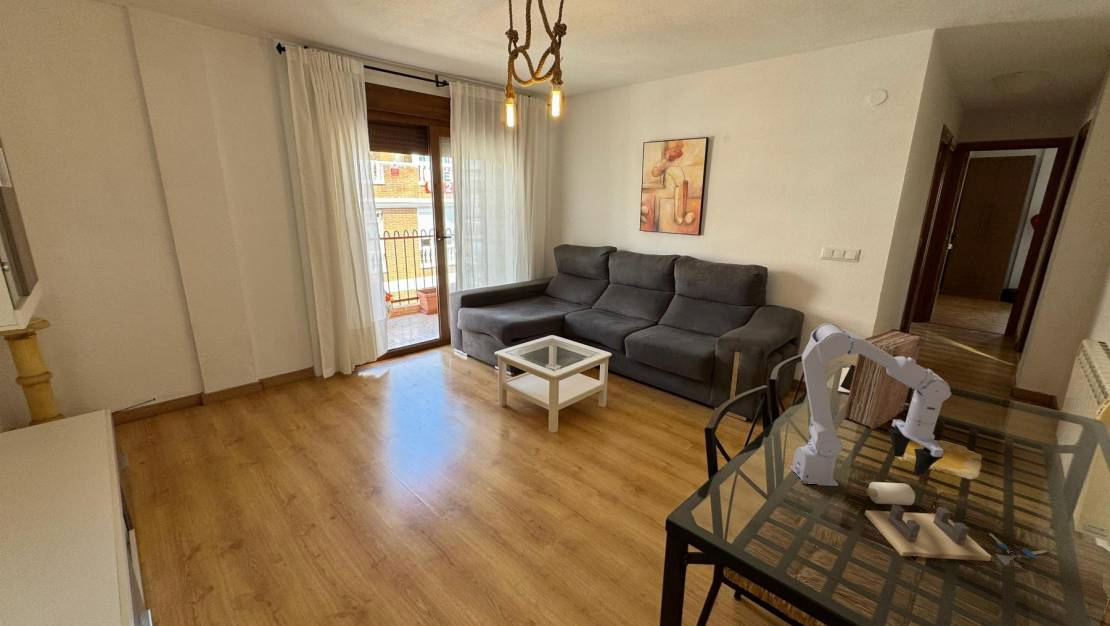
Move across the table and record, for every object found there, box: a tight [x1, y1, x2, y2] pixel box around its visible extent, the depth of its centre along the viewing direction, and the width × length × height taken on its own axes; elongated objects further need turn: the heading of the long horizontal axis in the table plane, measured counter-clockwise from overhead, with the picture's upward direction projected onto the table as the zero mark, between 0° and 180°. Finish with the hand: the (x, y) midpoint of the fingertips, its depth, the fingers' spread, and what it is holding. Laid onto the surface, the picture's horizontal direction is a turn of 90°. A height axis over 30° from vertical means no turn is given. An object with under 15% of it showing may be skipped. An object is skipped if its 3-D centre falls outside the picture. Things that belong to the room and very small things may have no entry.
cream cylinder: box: [866, 481, 916, 506], centre depth 115 cm, size 11×5×5 cm, turn 87°
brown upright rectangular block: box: [843, 328, 924, 431], centre depth 156 cm, size 25×9×30 cm, turn 123°
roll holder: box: [864, 504, 992, 562], centre depth 103 cm, size 19×13×6 cm
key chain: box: [987, 532, 1048, 569], centre depth 101 cm, size 14×8×1 cm, turn 114°
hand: (907, 464), depth 116 cm, fingers open, 7 cm apart
